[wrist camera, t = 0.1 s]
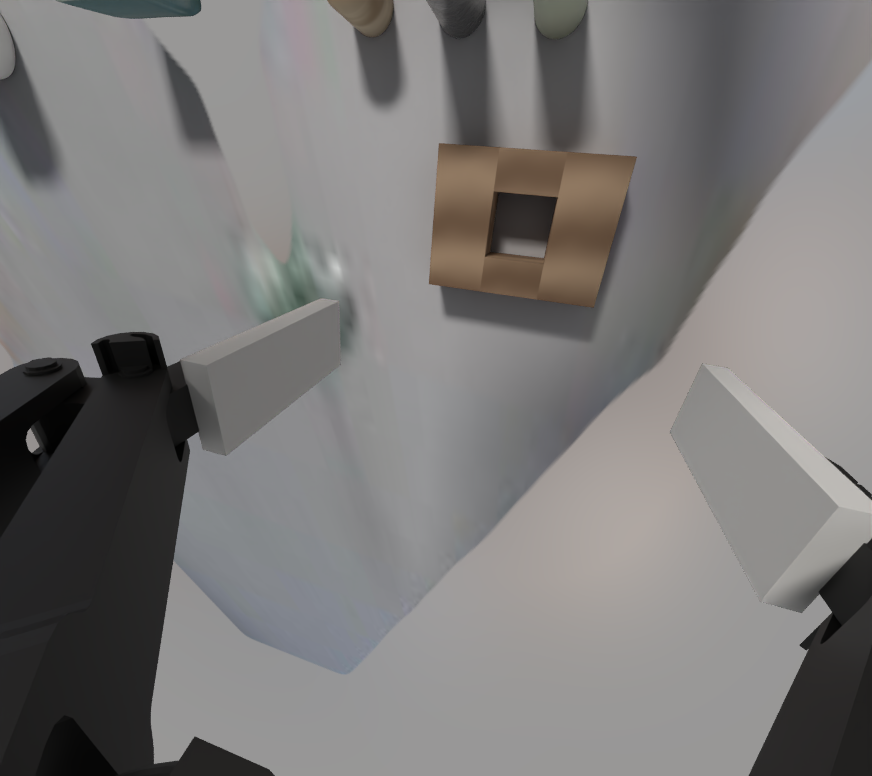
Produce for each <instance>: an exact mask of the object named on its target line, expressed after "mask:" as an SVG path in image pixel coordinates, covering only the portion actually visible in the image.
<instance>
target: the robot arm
mask: <svg viewBox="0 0 872 776" xmlns="http://www.w3.org/2000/svg"><path fill="white" fill-rule="evenodd" d="M91 345H92V348H93V350H94V353H95V356H96V358H97V361H98V364H99V367H100V369H101V372H102V375H103V376H102V377H101V378H89V377H84V376H83V373H82V371H81V368H80V366H79V363H78V361H76V360H73V359H67V358H53V359H52V358H42V359H36V360H32V361H30V362H28V363H25V364H22V365H19V366H17V367H14V368H12V369H10V370H8V371H6V372H4V373H3V374H1V375H0V776H275V775H273V773H272V772H271V771H270V770H269V769H267V768H264V767H262V766H260V765H258V764H256V763H253V762H251V761H249V760H246V759H244V758H242V757H240V756H237V755H235V754H233V753H231V752H228V751H226V750H224V749H222V748H220V747H217V746H215V745H213V744H210V743H208V742H206V741H204V740H202V739H199V738H197V737H194V739H193V740H192V741H191V743H190V745H189V746H188V748H187V749H186V751H185V752H184V754H183V755H182V757H181V758H180V760H179V761H172V762H165V763H158V764H154V747H153V738H152V730H151V703H152V696H153V690H154V683H155V677H156V670H157V664H158V657H159V651H160V644H161V638H162V631H163V624H164V617H165V611H166V605H167V598H168V592H169V585H170V578H171V571H172V565H173V559H174V552H175V546H176V539H177V532H178V526H179V519H180V513H181V506H182V500H183V493H184V486H185V480H186V473H187V467H188V460H189V454H190V449H189V445H188V441H187V439H188V438H190V437H191V436H193V435H194V434H196V433H197V432H198V433H199V437H200V440H201V444H202V448H203V450H206V451H210V452H214V453H217V454H221V455H225V456H227V455H228V454H229V453H231V452H232V451H233V450H234V449H236V448H237V447H238V446H239V445H241V444H242V443H243V442H244V441H246V440H247V439H248V438H249V437H251V436H252V435H253V434H254V433H256V432H257V431H258V430H259V429H261V428H262V427H263V426H264V425H266V424H267V423H268V422H269V421H271V420H272V419H273V418H274V417H276V416H277V415H278V414H279V413H281V412H282V411H283V410H284V409H286V408H287V407H288V406H289V405H291V404H292V403H293V402H294V401H296V400H297V399H298V398H299V397H301V396H302V395H303V394H304V393H306V392H307V391H308V390H309V389H311V388H312V387H313V386H315V385H316V384H317V383H318V382H320V381H321V380H322V379H323V378H325V377H326V376H327V375H328V374H330V373H331V372H332V371H333V370H335V369H336V368H337V367H338V366H340V365H341V349H340V318H339V301H335V300H329V299H323V298H321V299H318V300H316V301H314V302H311V303H309V304H307V305H305V306H302V307H300V308H298V309H295V310H293V311H291V312H288V313H286V314H284V315H282V316H279V317H277V318H275V319H272V320H270V321H268V322H265V323H263V324H261V325H258V326H256V327H254V328H252V329H249V330H247V331H245V332H242V333H240V334H238V335H235V336H233V337H231V338H229V339H226V340H224V341H222V342H219V343H217V344H215V345H212V346H210V347H208V348H205V349H203V350H201V351H199V352H196V353H194V354H192V355H189V356H187V357H185V358H182V359H180V361H179V362H177V363H175V364H173V365H170V366H168V367H167V365H166V362H165V358H164V355H163V351H162V347H161V344H160V340H159V336H157V335H155V334H153V333H146V332H129V333H119V334H114V335H110V336H106V337H103V338H100V339H97V340H96V341H94V342H93V343H91ZM30 428H31V430H32V432H33V434H34V436H35V438H36V440H37V442H38V443H39V446H40V447H39V448H38V449H36V450H35V451H34V452H33V453H31V452H30V451H29V450H28V447H27V443H26V436H27V432H28V430H29V429H30ZM670 433H671V435H672V437H673V439H674V441H675V443H676V445H677V447H678V448H679V450H680V452H681V454H682V456H683V458H684V460H685V462H686V463H687V465H688V467H689V469H690V471H691V473H692V475H693V476H694V478H695V480H696V482H697V484H698V486H699V488H700V490H701V492H702V493H703V495H704V497H705V499H706V501H707V503H708V505H709V507H710V509H711V510H712V512H713V514H714V516H715V518H716V520H717V521H718V523H719V525H720V527H721V529H722V531H723V533H724V535H725V537H726V539H727V540H728V542H729V544H730V546H731V548H732V550H733V552H734V554H735V556H736V557H737V559H738V561H739V563H740V565H741V567H742V569H743V570H744V572H745V574H746V576H747V578H748V580H749V582H750V583H751V586H752V587H753V589H754V591H755V593H756V595H757V597H758V598H759V601H760V602H763V603H767V604H771V605H775V606H778V607H782V608H786V609H789V610H793V611H796V612H800V613H802V612H803V611H804V610H805V609H806V608H807V607H808V606H809V605H810V604H811V602H812V601H813V600H814V599H815V598H816V597H817V596H818V595H819V594H820V595H821V597H822V598H823V599H824V601H825V602H826V604H827V605H828V607H829V608H830V609H831V611H832V613H831V614H830V615H829V616H828V617H827V618H826V619H825V620H824V621H823V622H822V623H821V625H819V626H818V628H816V629H815V630H814V631H813V632H812V633H811V634H810V635H809V636H808V637H807V638H806V639H805V640H804V641H803V642H802V643H801V644H800V646H801V647H802V648H804V649H805V650H807V649H809V650H808V652H807V654H806V656H805V658H804V660H803V662H802V665H801V667H800V669H799V671H798V673H797V675H796V677H795V679H794V681H793V684H792V686H791V688H790V690H789V692H788V694H787V696H786V698H785V700H784V702H783V704H782V707H781V709H780V711H779V713H778V715H777V717H776V719H775V721H774V723H773V726H772V728H771V730H770V732H769V734H768V736H767V738H766V740H765V743H764V744H763V747H762V749H761V751H760V753H759V755H758V757H757V759H756V761H755V764H754V766H753V768H752V770H751V772H750V774H749V776H872V497H871V496H872V494H871V493H870V492H868V491H867V490H866V489H865V488H864V487H863V486H862V485H859V484H857V483H858V482H857V481H856V480H855V479H854V478H853V477H852V476H850V474H848V473H847V472H846V471H845V470H844V469H843V468H842V467H841V466H839V465H837V464H836V463H834V462H832V461H831V460H829V459H827V458H826V457H824V456H823V455H822V454H821V453H820V452H819V451H818V450H816V449H815V448H814V447H813V446H812V445H811V444H810V443H809V442H808V441H807V440H805V438H803V437H802V436H801V435H800V434H799V433H798V432H797V431H796V430H795V429H794V428H793V427H792V426H790V425H789V424H788V423H787V422H786V421H785V420H784V419H783V418H782V417H781V416H780V415H779V414H777V413H776V412H775V411H774V410H773V409H772V408H771V407H770V406H768V405H767V403H765V402H764V401H763V400H762V399H761V398H760V397H759V396H758V395H757V394H756V393H755V392H754V391H752V390H751V389H750V388H749V387H748V386H747V385H746V384H745V383H744V382H743V381H742V380H741V379H739V378H738V377H737V376H736V375H735V374H734V373H733V372H732V371H731V370H730V369H729V368H726V367H720V366H714V365H708V364H702V365H701V367H700V369H699V371H698V373H697V376H696V378H695V380H694V382H693V384H692V386H691V388H690V390H689V392H688V395H687V397H686V399H685V401H684V403H683V405H682V407H681V409H680V411H679V414H678V416H677V418H676V420H675V422H674V424H673V426H672V428H671V430H670Z"/></svg>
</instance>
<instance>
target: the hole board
mask: <svg viewBox="0 0 872 776" xmlns="http://www.w3.org/2000/svg"><path fill="white" fill-rule="evenodd" d="M636 158H637V157H633V156H619V155H604V154H589V153H574V152H560V151H545V150H530V149H515V148H501V147H486V146H471V145H456V144H442V143H439V151H438V165H437V179H436V192H435V206H434V220H433V234H432V248H431V262H430V276H429V284H432V285H439V286H446V287H453V288H460V289H467V290H474V291H481V292H488V293H495V294H502V295H509V296H516V297H523V298H530V299H537V300H544V301H551V302H558V303H565V304H572V305H579V306H586V307H593V308H594V305H595V301H596V298H597V294H598V291H599V287H600V284H601V280H602V277H603V273H604V270H605V266H606V263H607V259H608V256H609V252H610V249H611V245H612V242H613V238H614V235H615V231H616V228H617V224H618V221H619V217H620V214H621V210H622V207H623V203H624V200H625V196H626V193H627V189H628V186H629V182H630V179H631V175H632V172H633V169H634V165H635V162H636ZM499 192H502V193H513V194H524V195H535V196H546V197H557V199H556V204H555V209H554V214H553V218H552V223H551V228H550V233H549V237H548V242H547V247H546V252H545V257H544V258H536V257H528V256H520V255H512V254H503V253H495V252H490V250H491V243H492V236H493V229H494V222H495V215H496V208H497V201H498V194H499Z"/></svg>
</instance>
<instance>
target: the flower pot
mask: <svg viewBox="0 0 872 776" xmlns="http://www.w3.org/2000/svg"><path fill="white" fill-rule="evenodd" d="M56 1H58V2H62V3H65V4H69V5H72V6H76V7H80V8H83V9H87V10H91V11H94V12H98V13H102V14H106V15H110V16H114V17H120V18H130V19H140V18H156V17H180V16H194V15H196V14H197V13H199V12H200V11H201V2H200V0H56Z"/></svg>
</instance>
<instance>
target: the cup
mask: <svg viewBox="0 0 872 776" xmlns="http://www.w3.org/2000/svg"><path fill="white" fill-rule="evenodd" d="M15 60H16V59H15V48H14V44H13V40H12V37H11V34H10V32H9V29H8V27H7V25H6V23H5V21H4V19H3V17H2V16H1V14H0V80H2V79H5V78H7V77H9V76H10V75H11V74H12V72H13V70H14V67H15Z"/></svg>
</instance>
